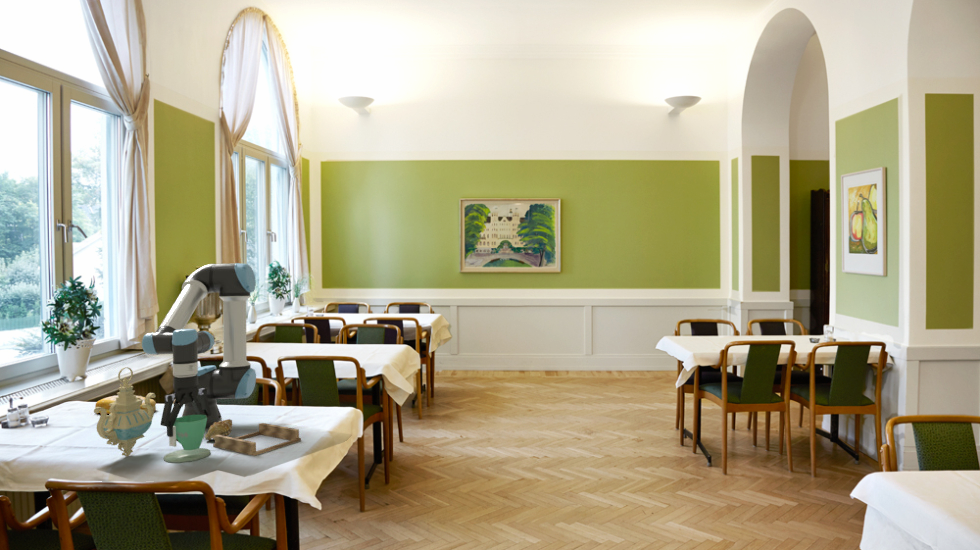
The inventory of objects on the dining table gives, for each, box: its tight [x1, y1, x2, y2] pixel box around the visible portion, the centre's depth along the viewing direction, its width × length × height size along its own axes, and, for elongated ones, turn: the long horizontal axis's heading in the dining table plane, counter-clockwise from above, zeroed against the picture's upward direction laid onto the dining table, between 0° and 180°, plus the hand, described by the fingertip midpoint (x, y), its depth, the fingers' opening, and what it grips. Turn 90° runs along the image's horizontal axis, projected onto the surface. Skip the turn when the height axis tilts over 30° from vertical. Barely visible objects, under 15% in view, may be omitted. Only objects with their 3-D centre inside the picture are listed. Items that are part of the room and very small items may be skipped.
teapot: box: [93, 367, 156, 457], centre depth 206 cm, size 24×12×30 cm, turn 167°
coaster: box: [163, 447, 211, 464], centre depth 205 cm, size 14×14×1 cm
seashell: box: [204, 418, 233, 441], centre depth 227 cm, size 9×8×10 cm
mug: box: [174, 415, 207, 450], centre depth 205 cm, size 15×10×10 cm
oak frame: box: [213, 422, 302, 457], centre depth 219 cm, size 22×20×4 cm
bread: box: [94, 394, 157, 415], centre depth 267 cm, size 13×26×8 cm, turn 79°
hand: (187, 442), depth 205 cm, fingers closed on mug, 9 cm apart
